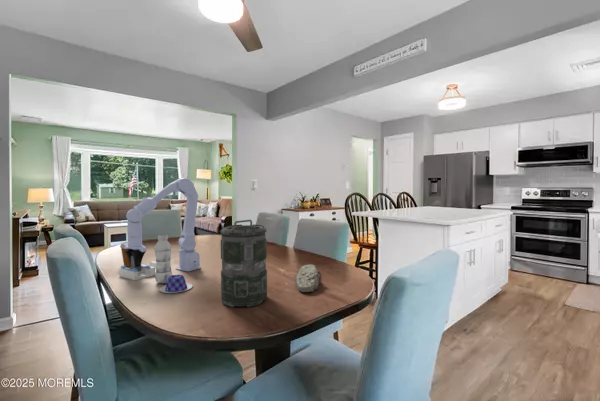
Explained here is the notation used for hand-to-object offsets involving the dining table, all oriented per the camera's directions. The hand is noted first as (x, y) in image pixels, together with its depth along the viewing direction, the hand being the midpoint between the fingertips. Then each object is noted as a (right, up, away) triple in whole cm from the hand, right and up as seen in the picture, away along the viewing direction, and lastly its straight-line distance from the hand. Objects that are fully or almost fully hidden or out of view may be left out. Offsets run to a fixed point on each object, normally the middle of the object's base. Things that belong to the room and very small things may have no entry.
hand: (135, 266), depth 138 cm
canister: (+54, -6, -30) cm, 62 cm away
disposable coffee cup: (-11, -4, +18) cm, 21 cm away
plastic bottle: (+17, -5, -10) cm, 21 cm away
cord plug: (0, -2, 0) cm, 2 cm away
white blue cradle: (+2, -4, +4) cm, 6 cm away
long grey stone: (+77, -5, -7) cm, 78 cm away
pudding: (+25, -6, -18) cm, 31 cm away
